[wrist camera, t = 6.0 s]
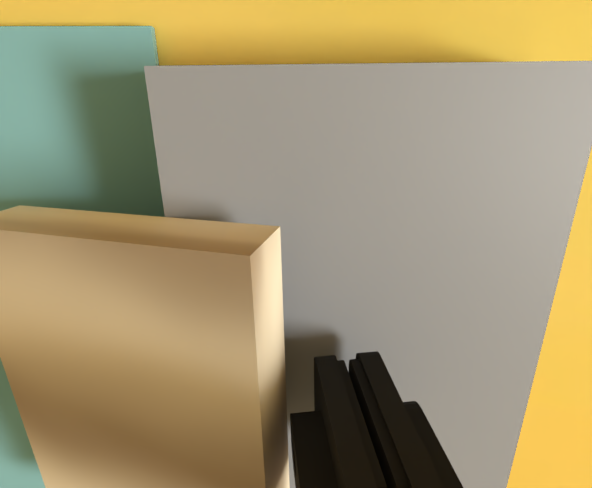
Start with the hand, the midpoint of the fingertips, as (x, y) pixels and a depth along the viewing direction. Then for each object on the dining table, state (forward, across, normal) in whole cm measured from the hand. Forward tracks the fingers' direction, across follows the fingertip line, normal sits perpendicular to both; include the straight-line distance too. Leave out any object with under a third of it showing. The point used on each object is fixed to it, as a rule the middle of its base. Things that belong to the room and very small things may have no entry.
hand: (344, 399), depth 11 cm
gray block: (+4, -1, 0) cm, 4 cm away
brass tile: (+1, +5, 0) cm, 5 cm away
